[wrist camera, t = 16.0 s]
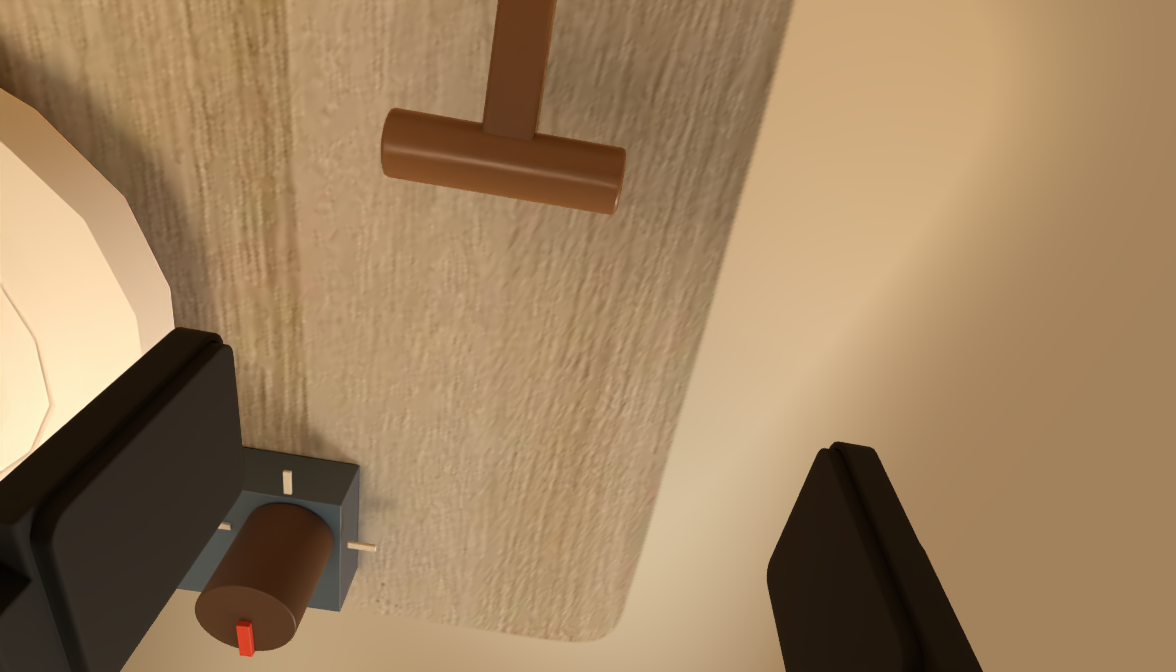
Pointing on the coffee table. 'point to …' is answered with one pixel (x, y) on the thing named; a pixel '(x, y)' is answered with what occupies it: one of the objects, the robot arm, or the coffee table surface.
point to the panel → (306, 486)
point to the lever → (507, 131)
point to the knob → (266, 579)
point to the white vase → (65, 283)
